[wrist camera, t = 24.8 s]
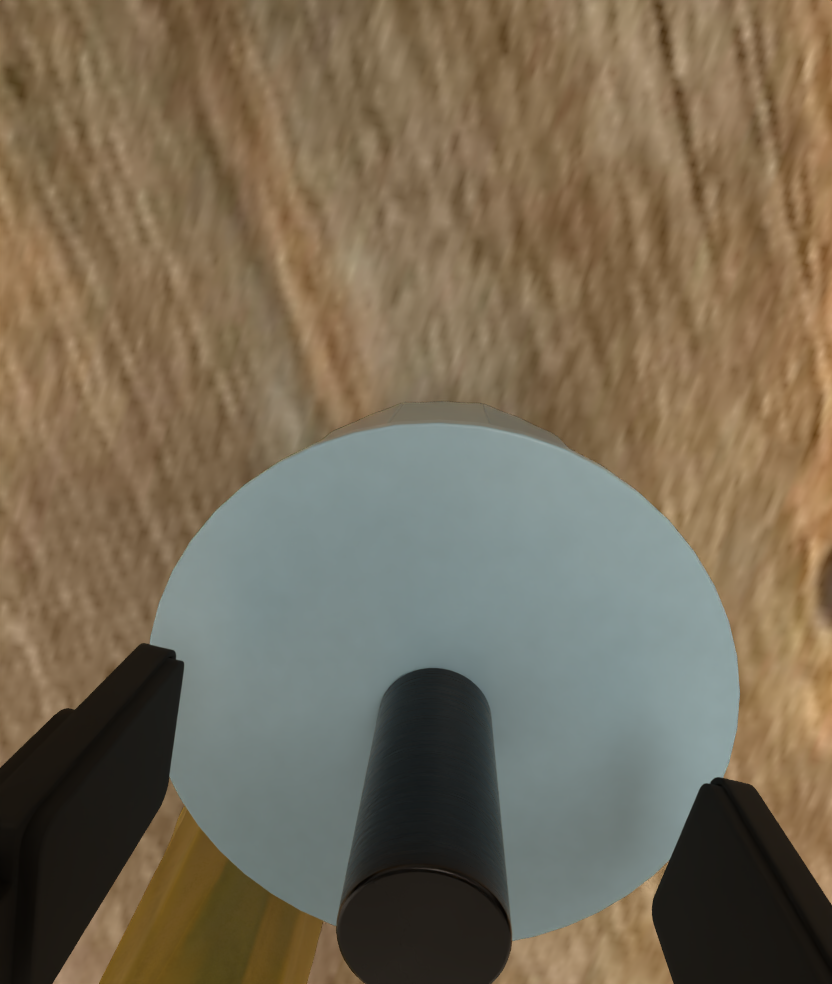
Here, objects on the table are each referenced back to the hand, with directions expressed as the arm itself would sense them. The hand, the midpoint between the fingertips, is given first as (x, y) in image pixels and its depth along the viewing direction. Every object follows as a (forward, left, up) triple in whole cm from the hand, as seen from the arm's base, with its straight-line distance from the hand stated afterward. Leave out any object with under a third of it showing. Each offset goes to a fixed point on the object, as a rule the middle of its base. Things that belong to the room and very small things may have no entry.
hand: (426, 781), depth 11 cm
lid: (0, 0, -3) cm, 3 cm away
